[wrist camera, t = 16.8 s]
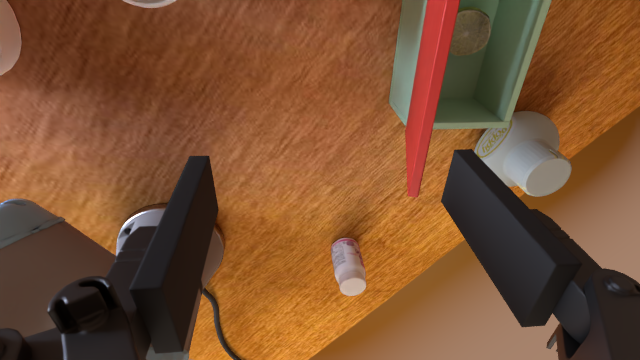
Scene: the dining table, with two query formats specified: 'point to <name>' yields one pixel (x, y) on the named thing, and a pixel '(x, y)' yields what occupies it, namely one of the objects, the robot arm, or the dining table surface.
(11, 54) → the honey pot
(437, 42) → the lid
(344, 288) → the pill bottle
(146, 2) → the coffee mug
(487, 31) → the lime
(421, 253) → the dining table surface
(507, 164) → the air freshener
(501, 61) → the open storage box
